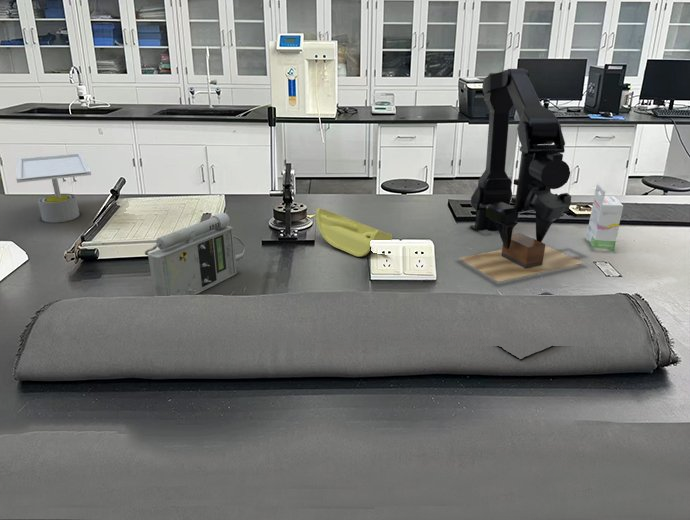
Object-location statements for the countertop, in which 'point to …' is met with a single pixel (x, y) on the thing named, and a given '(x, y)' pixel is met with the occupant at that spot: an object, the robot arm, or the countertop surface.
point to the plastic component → (348, 233)
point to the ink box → (604, 220)
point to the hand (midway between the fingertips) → (522, 245)
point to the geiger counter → (194, 257)
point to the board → (507, 269)
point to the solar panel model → (54, 182)
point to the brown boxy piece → (524, 251)
